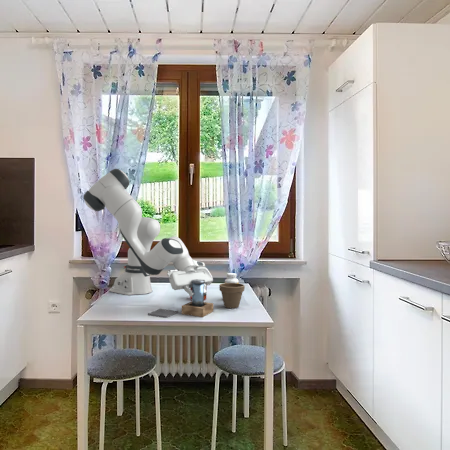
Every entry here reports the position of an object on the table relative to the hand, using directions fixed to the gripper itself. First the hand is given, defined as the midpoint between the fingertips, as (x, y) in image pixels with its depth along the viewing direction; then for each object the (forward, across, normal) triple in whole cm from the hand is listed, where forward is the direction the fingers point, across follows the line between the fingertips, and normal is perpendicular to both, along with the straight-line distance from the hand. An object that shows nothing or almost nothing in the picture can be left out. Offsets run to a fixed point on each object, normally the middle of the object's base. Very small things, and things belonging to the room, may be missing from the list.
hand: (198, 294), depth 168 cm
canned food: (-8, +15, +20) cm, 26 cm away
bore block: (+5, 0, +6) cm, 8 cm away
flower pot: (+6, +18, +5) cm, 20 cm away
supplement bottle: (-1, +27, +12) cm, 30 cm away
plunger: (+5, 0, +6) cm, 8 cm away
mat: (0, -12, +11) cm, 17 cm away
